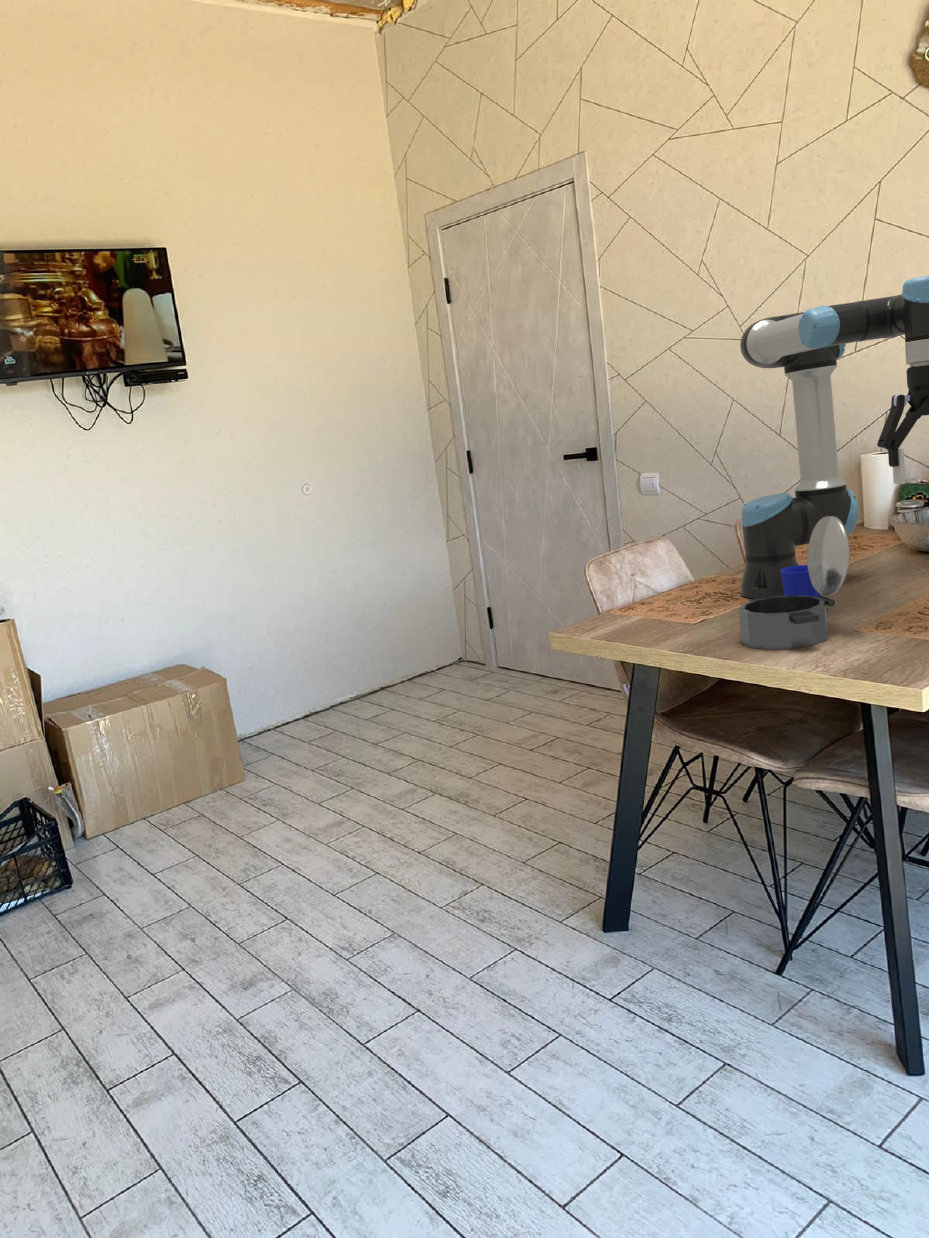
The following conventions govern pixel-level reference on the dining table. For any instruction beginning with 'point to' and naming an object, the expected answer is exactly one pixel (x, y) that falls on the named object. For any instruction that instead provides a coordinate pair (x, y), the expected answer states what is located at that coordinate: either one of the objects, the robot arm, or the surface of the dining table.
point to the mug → (797, 581)
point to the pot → (784, 621)
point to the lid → (828, 555)
